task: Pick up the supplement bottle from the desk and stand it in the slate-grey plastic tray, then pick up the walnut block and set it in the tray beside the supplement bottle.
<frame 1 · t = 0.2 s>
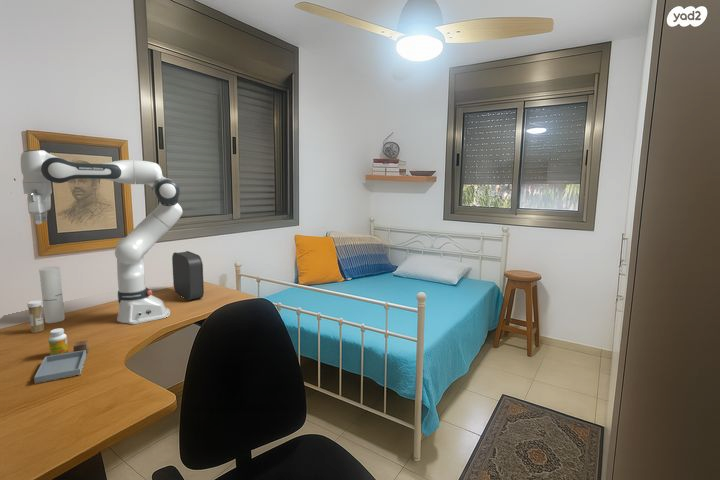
hand: (41, 222, 155), 47 cm above the table, tool pointing down, fingers open, 8 cm apart
sprinkles bottle: (37, 331, 160), on the table
supplement bottle: (59, 354, 140), on the table
tray: (62, 369, 130), on the table
cylindrical container: (55, 320, 172), on the table
speaker: (189, 296, 213), on the table
walnut block: (81, 352, 142), on the table
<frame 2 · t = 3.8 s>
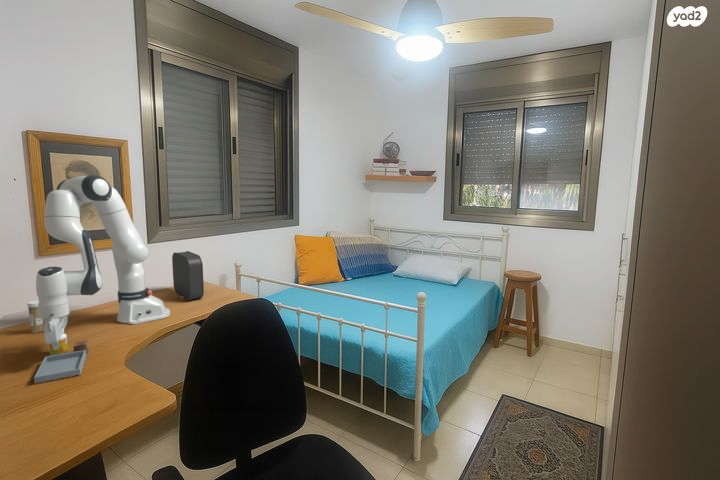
hand: (58, 345, 140), 4 cm above the table, tool pointing down, fingers closed on supplement bottle, 5 cm apart
supplement bottle: (59, 354, 140), on the table, touching gripper
everything else where it was.
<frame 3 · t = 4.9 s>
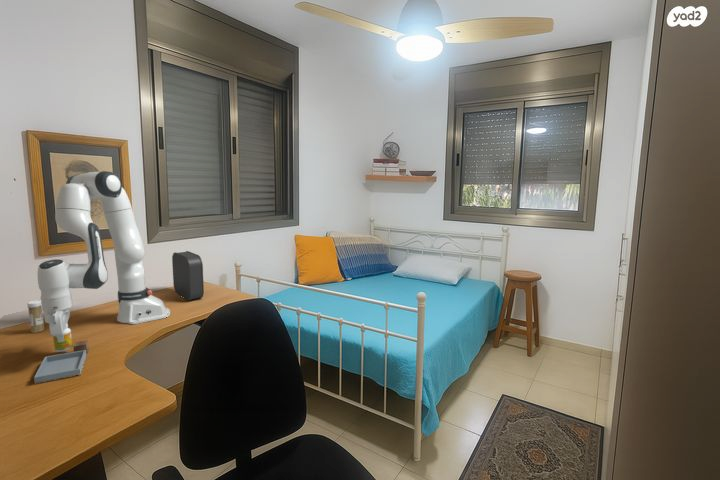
hand: (62, 337, 140), 6 cm above the table, tool pointing down, fingers closed on supplement bottle, 5 cm apart
supplement bottle: (64, 349, 141), point 2 cm above the table, touching gripper
everything else where it was.
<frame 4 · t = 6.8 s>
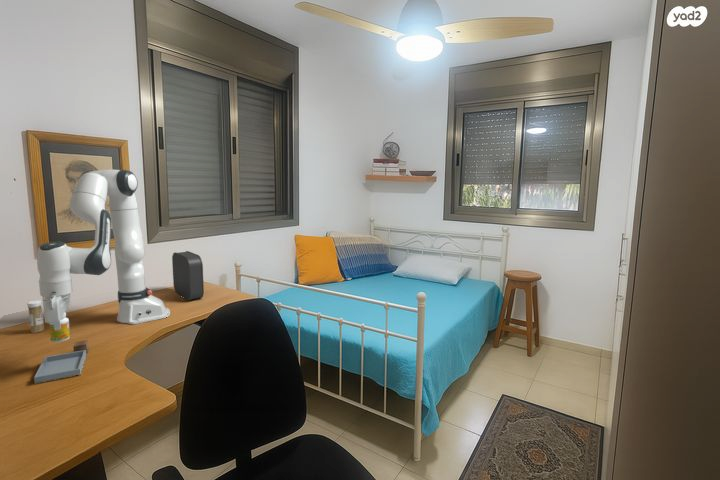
hand: (59, 325, 131), 15 cm above the table, tool pointing down, fingers closed on supplement bottle, 5 cm apart
supplement bottle: (60, 339, 132), point 9 cm above the table, touching gripper
everything else where it was.
when the fingers open (6 cm above the table, at t = 8.7 s): supplement bottle stays where it is, resting on tray.
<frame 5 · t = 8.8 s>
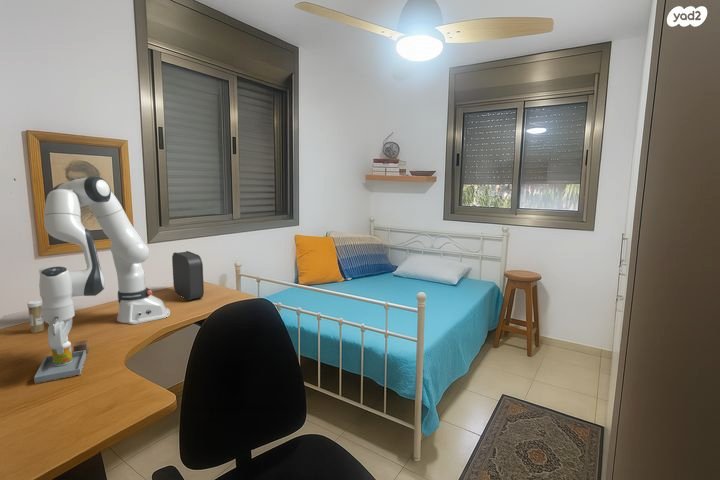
hand: (62, 349, 132), 6 cm above the table, tool pointing down, fingers open, 5 cm apart
supplement bottle: (63, 363, 133), resting on tray
everything else where it was.
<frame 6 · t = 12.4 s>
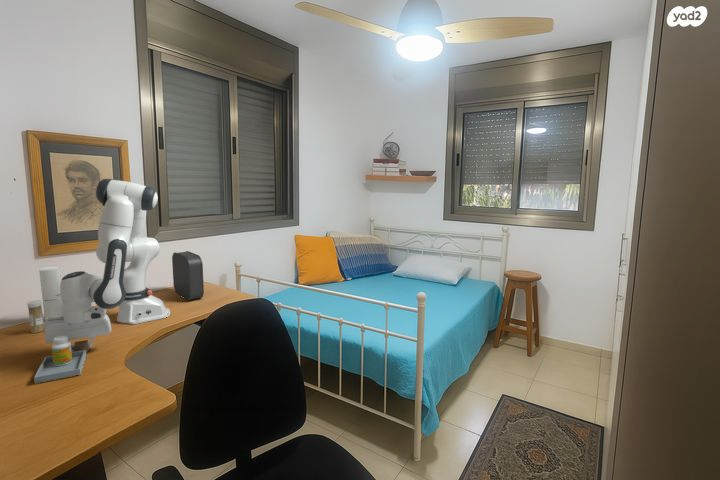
hand: (81, 348, 142), 2 cm above the table, tool pointing down, fingers closed on walnut block, 4 cm apart
walnut block: (81, 352, 142), on the table, touching gripper
everything else where it was.
when the fingers open (4 cm above the table, at t = 17.7 s): walnut block drops 1 cm, resting on tray.
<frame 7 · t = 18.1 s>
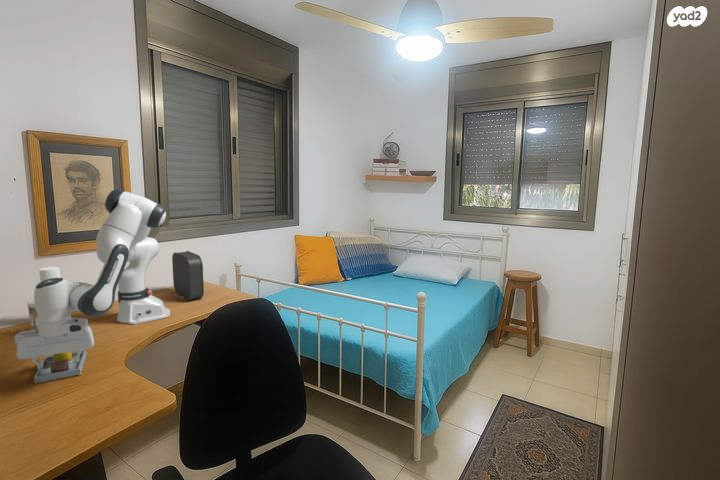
hand: (59, 364, 126), 4 cm above the table, tool pointing down, fingers open, 8 cm apart
walnut block: (60, 373, 126), resting on tray
everything else where it was.
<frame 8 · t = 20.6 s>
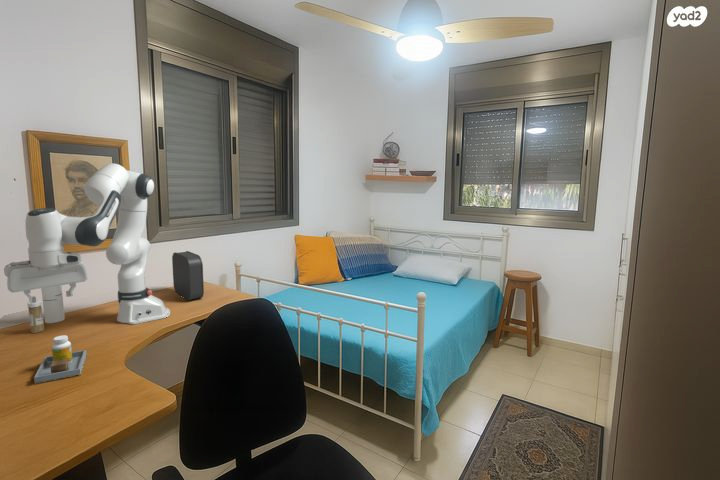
hand: (51, 299, 122), 27 cm above the table, tool pointing down, fingers open, 8 cm apart
nothing on the table moved.
at the end: supplement bottle inside the target area on the tray (4.2 cm from its centre), point 0.3 cm above the tray's base; supplement bottle tilted 0°; walnut block inside the target area on the tray (4.4 cm from its centre), point 0.5 cm above the tray's base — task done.
